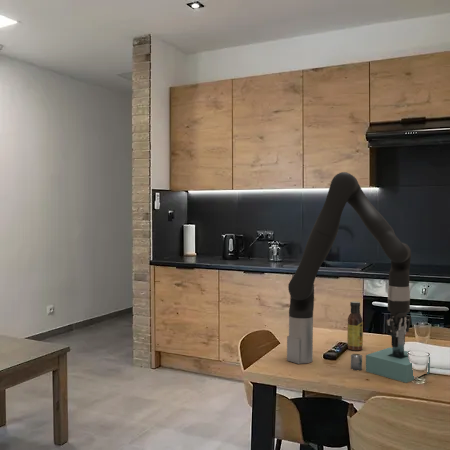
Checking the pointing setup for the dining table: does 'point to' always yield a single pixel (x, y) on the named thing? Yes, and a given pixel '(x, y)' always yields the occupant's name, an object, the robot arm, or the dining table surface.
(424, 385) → the dining table surface
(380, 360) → the hole block
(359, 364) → the short pin
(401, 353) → the long pin
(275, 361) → the dining table surface
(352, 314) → the sauce bottle
